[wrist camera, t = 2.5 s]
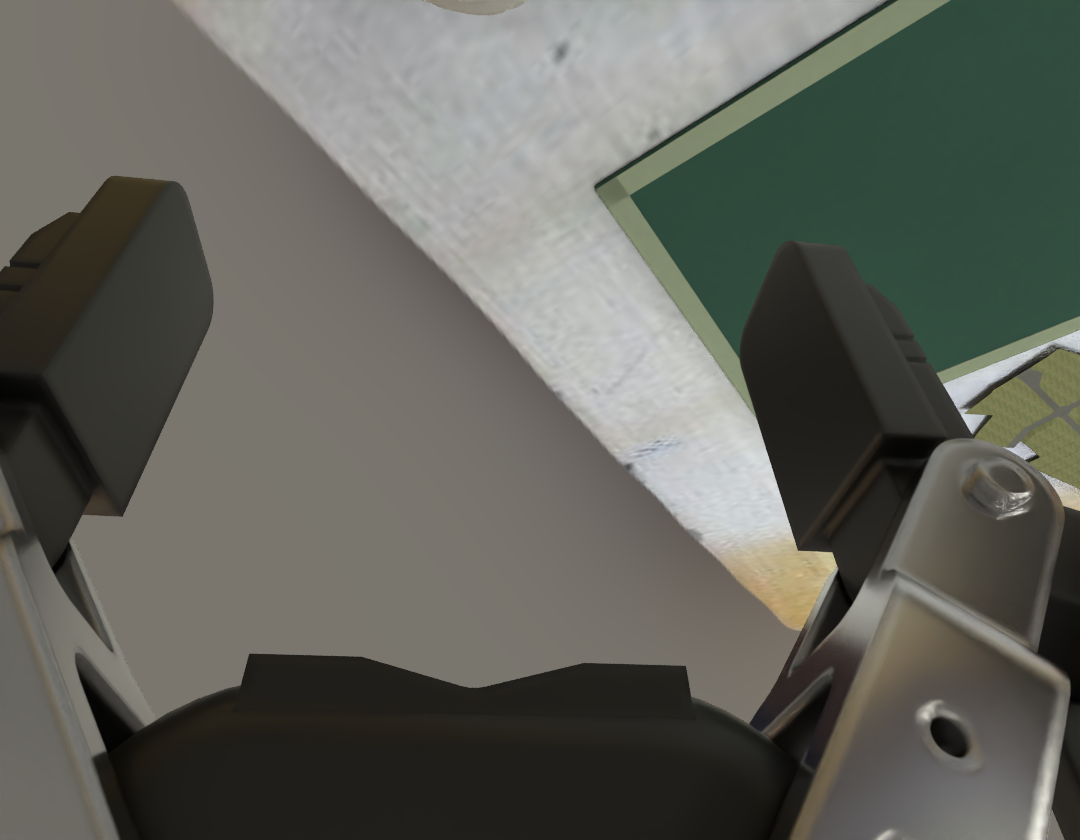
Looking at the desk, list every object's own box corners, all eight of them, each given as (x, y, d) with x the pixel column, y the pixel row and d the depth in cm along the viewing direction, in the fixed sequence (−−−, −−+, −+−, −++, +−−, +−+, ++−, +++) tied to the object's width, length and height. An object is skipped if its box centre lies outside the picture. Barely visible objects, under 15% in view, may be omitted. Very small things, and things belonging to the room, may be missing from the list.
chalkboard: (594, 185, 28) (594, 190, 28) (1197, -194, 20) (1205, -192, 19) (776, 443, 40) (778, 448, 40) (1195, 277, 32) (1200, 282, 32)
